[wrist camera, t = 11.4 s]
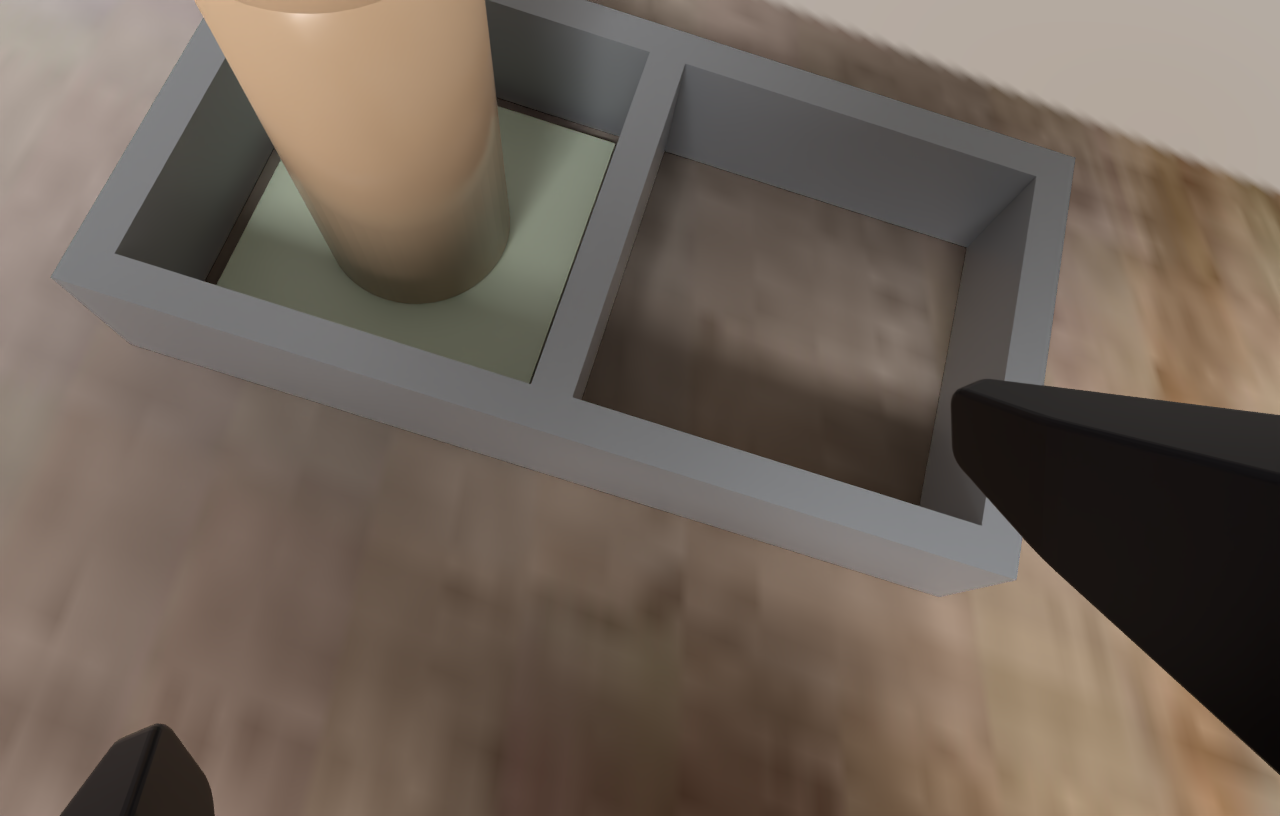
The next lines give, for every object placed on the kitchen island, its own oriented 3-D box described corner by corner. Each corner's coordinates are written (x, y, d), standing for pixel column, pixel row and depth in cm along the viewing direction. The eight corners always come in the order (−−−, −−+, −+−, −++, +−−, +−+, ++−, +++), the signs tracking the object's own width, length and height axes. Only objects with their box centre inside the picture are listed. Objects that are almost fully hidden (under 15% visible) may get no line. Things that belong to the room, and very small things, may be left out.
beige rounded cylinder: (457, 333, 24) (331, -77, 11) (291, 257, 24) (-23, -231, 11) (540, 187, 25) (516, -321, 13) (384, 117, 26) (202, -450, 13)
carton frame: (939, 597, 23) (1016, 579, 20) (130, 344, 23) (50, 277, 19) (1001, 230, 27) (1075, 157, 24) (310, 9, 27) (272, -101, 23)
